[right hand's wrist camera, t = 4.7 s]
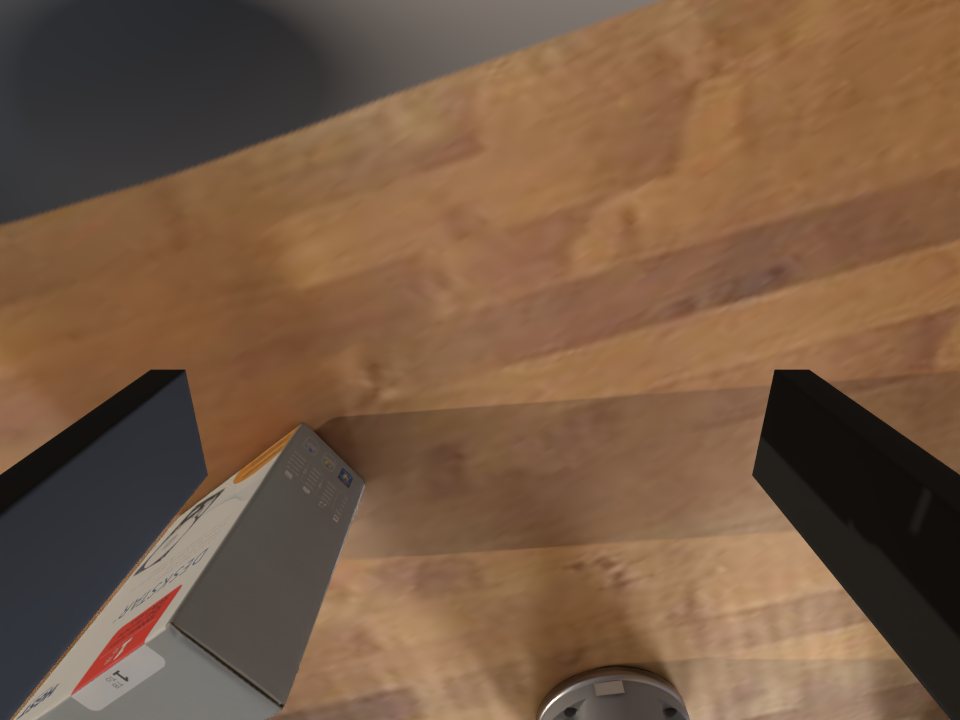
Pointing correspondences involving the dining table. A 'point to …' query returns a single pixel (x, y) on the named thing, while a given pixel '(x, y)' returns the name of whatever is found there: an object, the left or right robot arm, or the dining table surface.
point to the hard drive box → (217, 599)
